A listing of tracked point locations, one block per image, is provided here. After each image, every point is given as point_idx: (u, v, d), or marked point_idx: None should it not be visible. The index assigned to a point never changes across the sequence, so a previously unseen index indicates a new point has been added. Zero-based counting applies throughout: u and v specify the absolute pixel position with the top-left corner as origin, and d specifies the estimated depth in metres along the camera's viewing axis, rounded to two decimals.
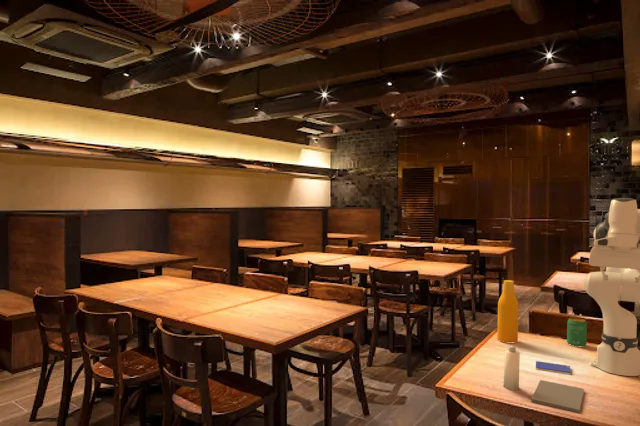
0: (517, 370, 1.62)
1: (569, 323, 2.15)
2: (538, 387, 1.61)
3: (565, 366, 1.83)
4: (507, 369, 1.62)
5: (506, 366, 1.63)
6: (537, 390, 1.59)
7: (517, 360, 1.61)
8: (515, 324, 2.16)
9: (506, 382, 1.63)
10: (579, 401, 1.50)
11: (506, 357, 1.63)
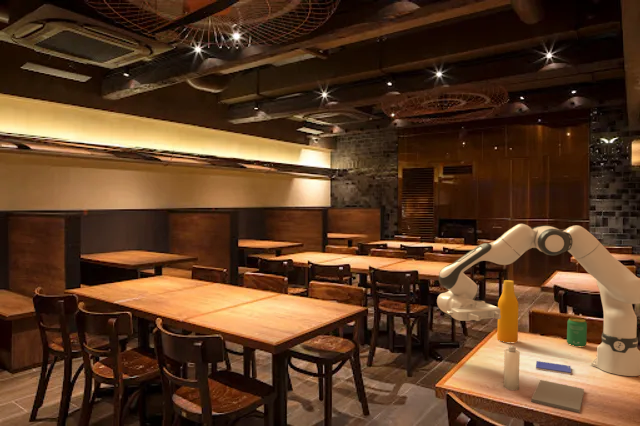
0: (517, 370, 1.62)
1: (569, 323, 2.15)
2: (538, 387, 1.61)
3: (565, 366, 1.83)
4: (507, 369, 1.62)
5: (506, 366, 1.63)
6: (537, 390, 1.59)
7: (517, 360, 1.61)
8: (515, 324, 2.16)
9: (506, 382, 1.63)
10: (579, 401, 1.50)
11: (506, 357, 1.63)
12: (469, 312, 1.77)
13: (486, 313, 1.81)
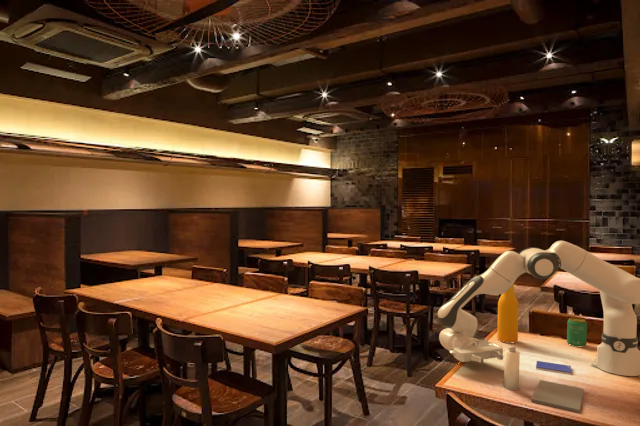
0: (517, 370, 1.62)
1: (569, 323, 2.15)
2: (538, 387, 1.61)
3: (566, 366, 1.83)
4: (507, 368, 1.62)
5: (506, 366, 1.63)
6: (537, 390, 1.59)
7: (517, 360, 1.61)
8: (515, 324, 2.16)
9: (506, 382, 1.63)
10: (579, 401, 1.50)
11: (506, 357, 1.63)
12: (471, 353, 1.76)
13: (489, 353, 1.80)
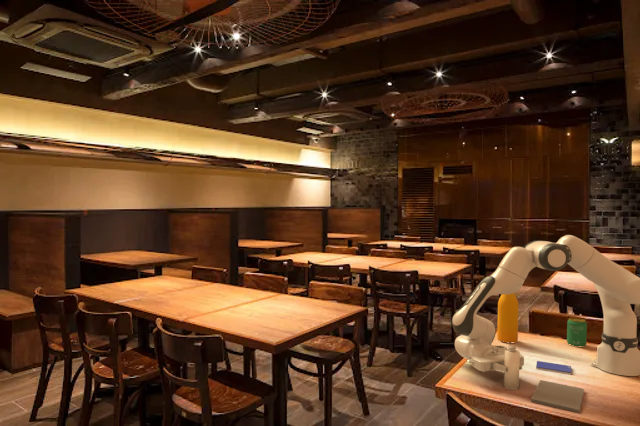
0: (517, 370, 1.62)
1: (569, 323, 2.15)
2: (538, 387, 1.61)
3: (566, 366, 1.83)
4: None
5: None
6: (537, 390, 1.59)
7: (517, 360, 1.61)
8: (515, 324, 2.16)
9: (506, 382, 1.63)
10: (579, 401, 1.50)
11: (506, 357, 1.63)
12: (491, 362, 1.65)
13: None
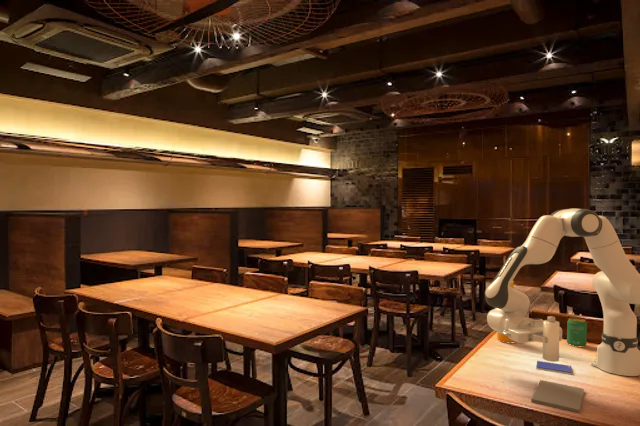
0: (557, 341, 1.55)
1: (569, 323, 2.15)
2: (538, 387, 1.61)
3: (566, 366, 1.83)
4: None
5: None
6: (537, 390, 1.59)
7: (557, 330, 1.55)
8: None
9: (545, 353, 1.57)
10: (579, 401, 1.50)
11: (545, 327, 1.57)
12: (530, 333, 1.59)
13: None
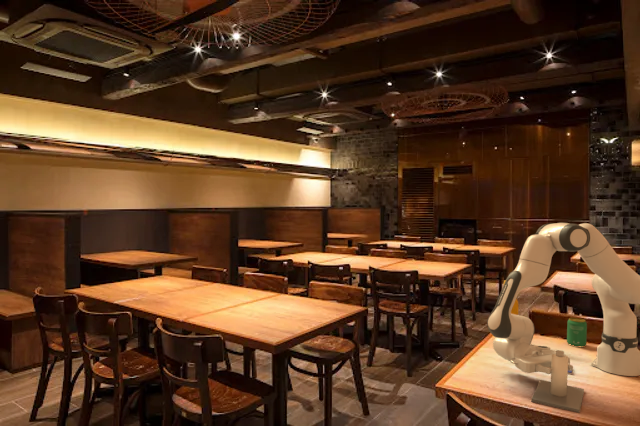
0: (565, 376, 1.54)
1: (569, 323, 2.15)
2: (538, 387, 1.61)
3: None
4: (555, 374, 1.55)
5: (554, 371, 1.55)
6: (537, 390, 1.59)
7: (566, 365, 1.54)
8: None
9: (553, 388, 1.55)
10: (579, 401, 1.50)
11: (554, 362, 1.55)
12: (537, 363, 1.58)
13: None
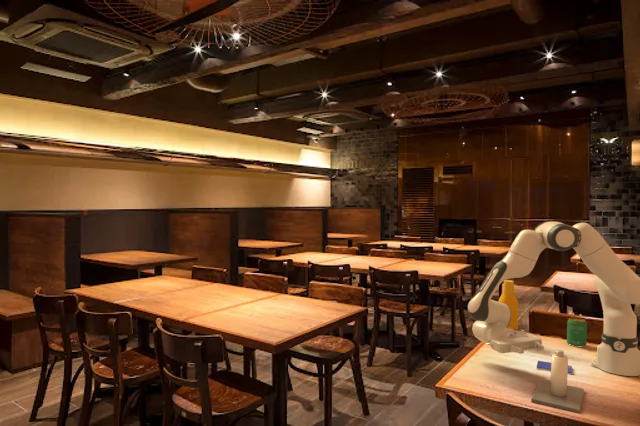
0: (565, 376, 1.54)
1: (569, 323, 2.15)
2: (538, 387, 1.61)
3: None
4: (555, 374, 1.55)
5: (554, 371, 1.55)
6: (537, 390, 1.59)
7: (566, 365, 1.54)
8: (515, 324, 2.16)
9: (553, 388, 1.55)
10: (579, 401, 1.50)
11: (554, 362, 1.55)
12: (511, 344, 1.70)
13: (528, 344, 1.74)
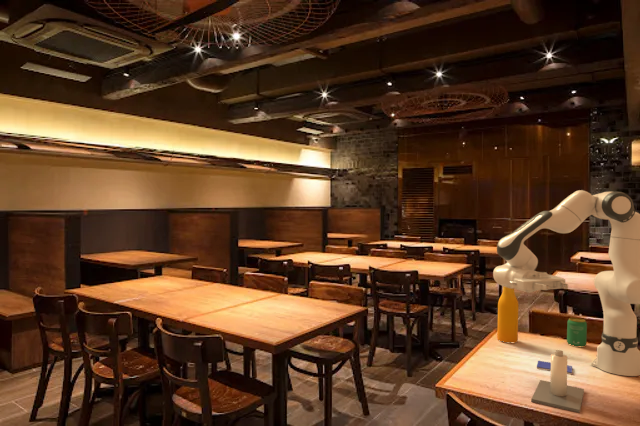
0: (565, 375, 1.54)
1: (569, 323, 2.15)
2: (538, 387, 1.61)
3: (567, 366, 1.83)
4: (555, 374, 1.55)
5: (553, 371, 1.55)
6: (537, 390, 1.59)
7: (565, 365, 1.54)
8: (515, 324, 2.16)
9: (553, 388, 1.55)
10: (579, 401, 1.50)
11: (553, 362, 1.56)
12: (535, 282, 1.67)
13: (551, 283, 1.71)
